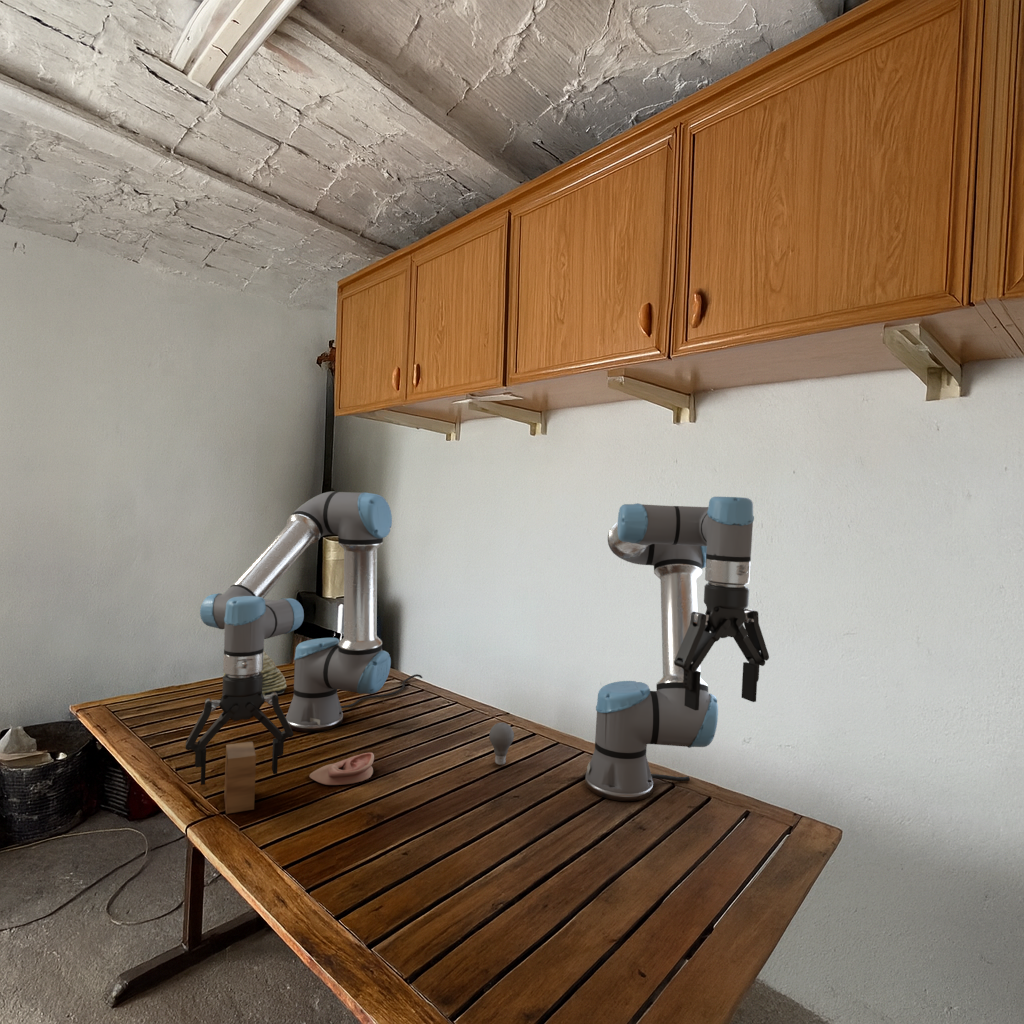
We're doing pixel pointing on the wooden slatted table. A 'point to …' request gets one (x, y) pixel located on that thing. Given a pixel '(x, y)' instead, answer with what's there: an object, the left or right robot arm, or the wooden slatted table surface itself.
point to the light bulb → (501, 741)
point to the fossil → (271, 677)
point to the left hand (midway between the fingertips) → (239, 776)
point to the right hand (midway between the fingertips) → (720, 703)
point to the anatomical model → (345, 770)
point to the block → (240, 777)
